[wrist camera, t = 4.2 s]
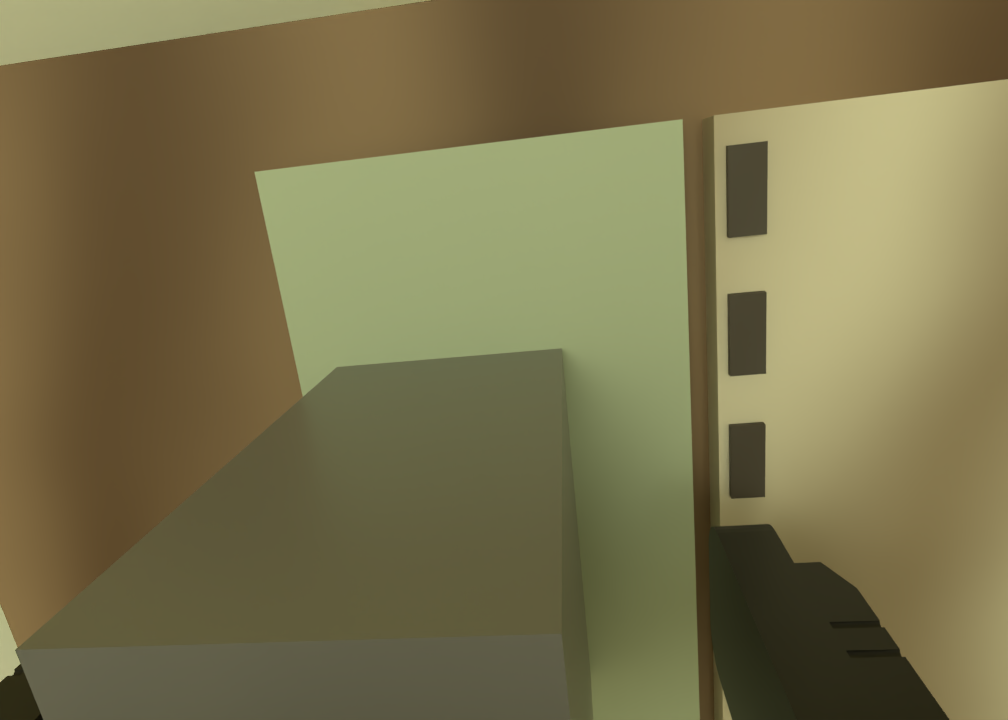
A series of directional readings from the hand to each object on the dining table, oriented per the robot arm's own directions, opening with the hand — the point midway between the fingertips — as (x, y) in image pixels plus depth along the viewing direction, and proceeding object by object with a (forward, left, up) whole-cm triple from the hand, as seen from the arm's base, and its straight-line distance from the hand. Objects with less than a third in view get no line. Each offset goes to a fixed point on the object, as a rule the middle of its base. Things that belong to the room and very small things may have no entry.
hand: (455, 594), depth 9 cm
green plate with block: (-1, 0, -2) cm, 2 cm away
